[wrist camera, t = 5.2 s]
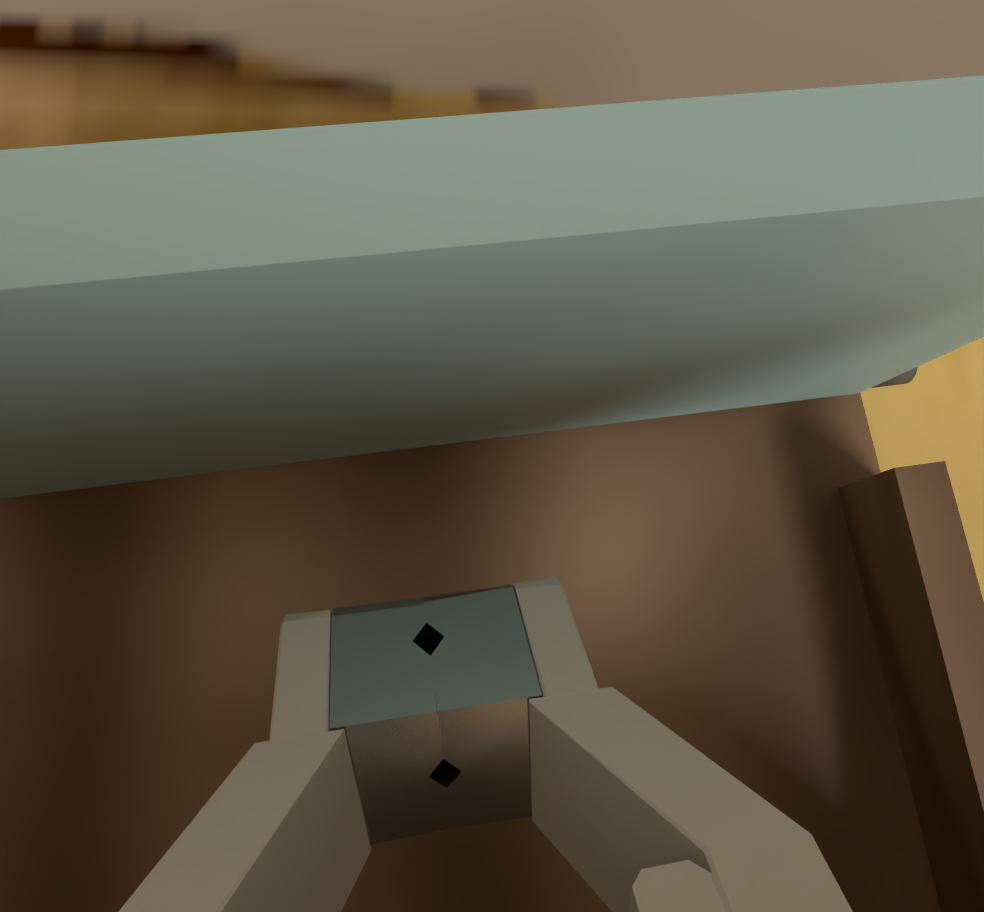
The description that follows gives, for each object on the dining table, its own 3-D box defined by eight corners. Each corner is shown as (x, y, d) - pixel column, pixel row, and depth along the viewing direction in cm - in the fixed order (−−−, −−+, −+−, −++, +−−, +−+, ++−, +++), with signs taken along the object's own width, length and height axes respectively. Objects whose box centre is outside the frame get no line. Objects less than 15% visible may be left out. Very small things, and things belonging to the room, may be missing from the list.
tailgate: (-148, 517, 14) (-1082, 393, 5) (-149, 431, 14) (-1044, 178, 6) (858, 393, 16) (1370, 160, 8) (842, 320, 17) (1320, 12, 8)
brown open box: (-112, 1264, 14) (-1216, 2557, 5) (-100, 496, 17) (-760, 322, 8) (979, 1020, 17) (1727, 1540, 7) (823, 384, 20) (1201, 146, 10)
